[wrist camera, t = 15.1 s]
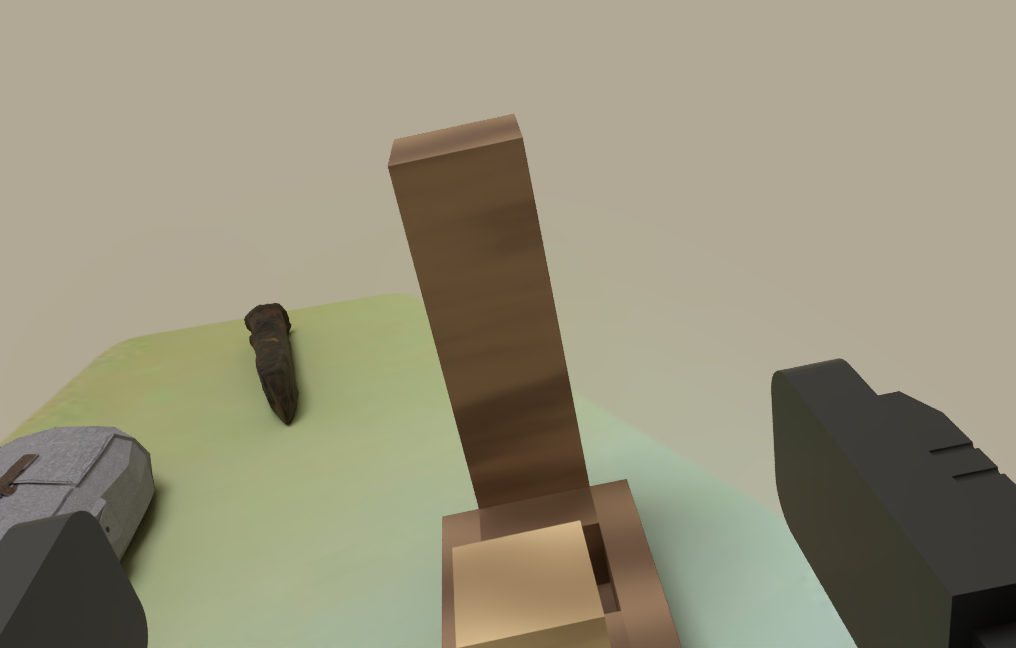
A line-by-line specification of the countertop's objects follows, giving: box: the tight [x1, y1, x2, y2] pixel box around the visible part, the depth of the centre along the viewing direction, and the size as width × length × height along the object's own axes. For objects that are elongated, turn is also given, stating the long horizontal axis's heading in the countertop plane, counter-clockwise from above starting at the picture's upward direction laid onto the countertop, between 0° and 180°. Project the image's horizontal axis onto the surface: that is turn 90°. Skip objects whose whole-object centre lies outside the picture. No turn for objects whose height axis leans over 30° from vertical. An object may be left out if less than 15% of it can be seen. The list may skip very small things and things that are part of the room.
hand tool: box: [244, 303, 298, 423], centre depth 75 cm, size 19×4×5 cm, turn 16°
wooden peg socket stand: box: [388, 114, 682, 648], centre depth 34 cm, size 29×10×24 cm, turn 4°
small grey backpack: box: [0, 426, 155, 562], centre depth 55 cm, size 15×8×20 cm
